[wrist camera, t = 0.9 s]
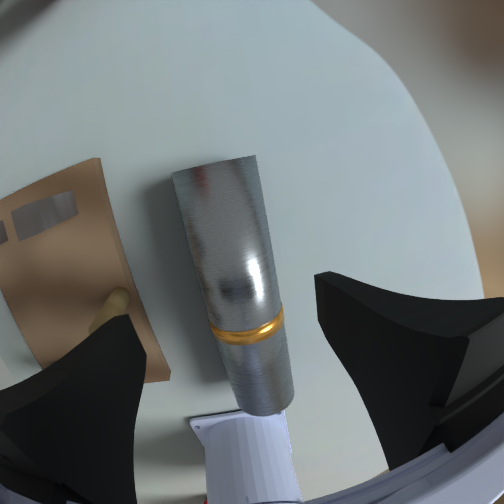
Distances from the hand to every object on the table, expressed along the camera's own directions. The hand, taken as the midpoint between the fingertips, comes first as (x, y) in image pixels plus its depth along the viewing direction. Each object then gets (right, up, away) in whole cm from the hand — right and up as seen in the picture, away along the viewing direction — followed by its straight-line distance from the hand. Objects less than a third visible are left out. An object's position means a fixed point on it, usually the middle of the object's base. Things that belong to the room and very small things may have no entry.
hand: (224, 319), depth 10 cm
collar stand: (-12, 0, +5) cm, 13 cm away
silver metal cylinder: (0, 0, +7) cm, 7 cm away
